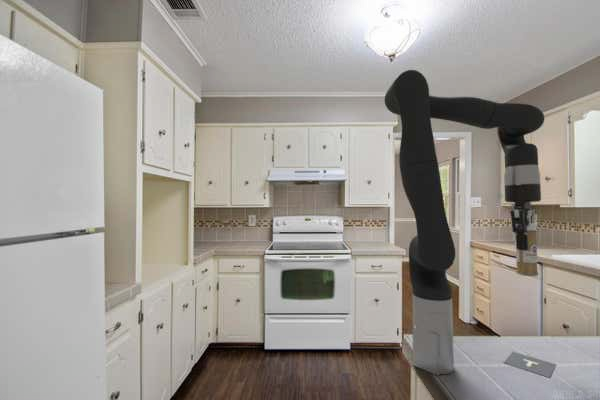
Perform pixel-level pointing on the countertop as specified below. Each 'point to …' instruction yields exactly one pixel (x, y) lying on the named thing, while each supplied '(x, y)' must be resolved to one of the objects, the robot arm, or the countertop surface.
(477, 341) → the countertop surface
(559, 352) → the countertop surface
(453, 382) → the countertop surface
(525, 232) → the robot arm
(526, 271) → the sprinkles bottle
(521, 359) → the letter card
